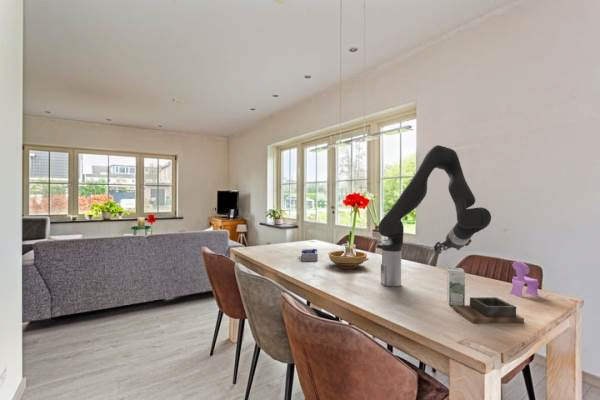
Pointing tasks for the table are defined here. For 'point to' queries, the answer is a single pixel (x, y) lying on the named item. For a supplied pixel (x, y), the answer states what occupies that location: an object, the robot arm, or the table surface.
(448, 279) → the syrup box
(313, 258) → the desk tidy
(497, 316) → the socket block
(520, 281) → the toy chair
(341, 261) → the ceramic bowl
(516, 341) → the table surface
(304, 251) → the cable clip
